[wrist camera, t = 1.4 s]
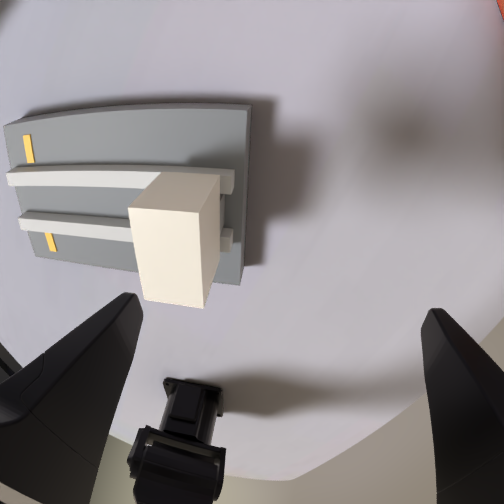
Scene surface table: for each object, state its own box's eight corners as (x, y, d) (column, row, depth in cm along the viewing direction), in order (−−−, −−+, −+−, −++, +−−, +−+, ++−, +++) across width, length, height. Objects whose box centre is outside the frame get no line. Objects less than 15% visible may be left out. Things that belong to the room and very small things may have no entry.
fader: (224, 245, 19) (203, 308, 15) (176, 240, 20) (144, 299, 15) (225, 165, 16) (198, 212, 12) (170, 162, 17) (127, 207, 12)
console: (243, 267, 23) (237, 295, 20) (48, 243, 24) (29, 263, 21) (251, 104, 16) (244, 113, 14) (21, 118, 17) (-7, 130, 15)
